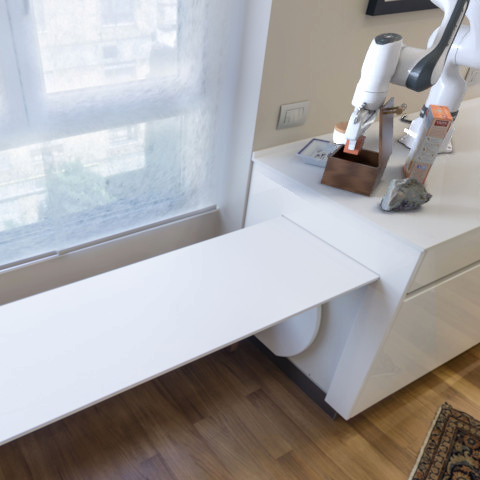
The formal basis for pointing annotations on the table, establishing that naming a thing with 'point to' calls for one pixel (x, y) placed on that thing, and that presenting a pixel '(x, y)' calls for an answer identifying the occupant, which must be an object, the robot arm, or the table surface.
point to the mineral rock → (405, 195)
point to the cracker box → (428, 142)
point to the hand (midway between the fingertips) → (354, 146)
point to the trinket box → (340, 133)
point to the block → (358, 146)
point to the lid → (387, 129)
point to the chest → (353, 171)
